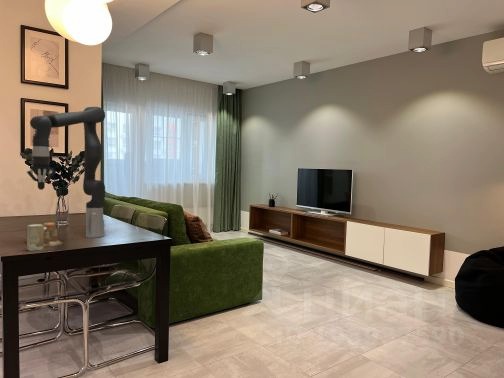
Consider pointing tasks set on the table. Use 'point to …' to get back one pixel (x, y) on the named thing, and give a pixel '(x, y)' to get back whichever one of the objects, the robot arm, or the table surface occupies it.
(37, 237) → the skincare box
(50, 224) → the rust plug
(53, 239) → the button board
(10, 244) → the table surface
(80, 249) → the table surface
